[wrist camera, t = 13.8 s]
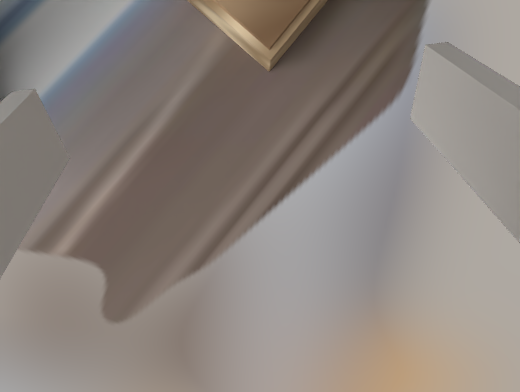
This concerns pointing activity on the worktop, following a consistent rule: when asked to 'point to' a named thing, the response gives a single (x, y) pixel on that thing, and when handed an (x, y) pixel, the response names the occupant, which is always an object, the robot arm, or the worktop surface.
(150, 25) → the worktop surface
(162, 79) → the worktop surface
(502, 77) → the robot arm
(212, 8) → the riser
